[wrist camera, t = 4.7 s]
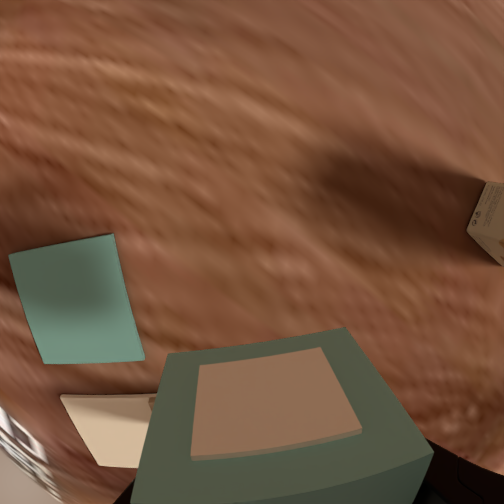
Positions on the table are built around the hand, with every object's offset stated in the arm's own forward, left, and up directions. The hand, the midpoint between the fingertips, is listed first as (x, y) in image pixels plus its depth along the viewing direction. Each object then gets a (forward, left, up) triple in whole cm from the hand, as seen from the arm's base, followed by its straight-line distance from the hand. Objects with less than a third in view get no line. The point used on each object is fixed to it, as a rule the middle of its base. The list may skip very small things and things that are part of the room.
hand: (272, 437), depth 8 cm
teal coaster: (+1, +11, -11) cm, 16 cm away
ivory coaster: (-10, +11, -11) cm, 19 cm away
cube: (0, 0, -1) cm, 1 cm away
